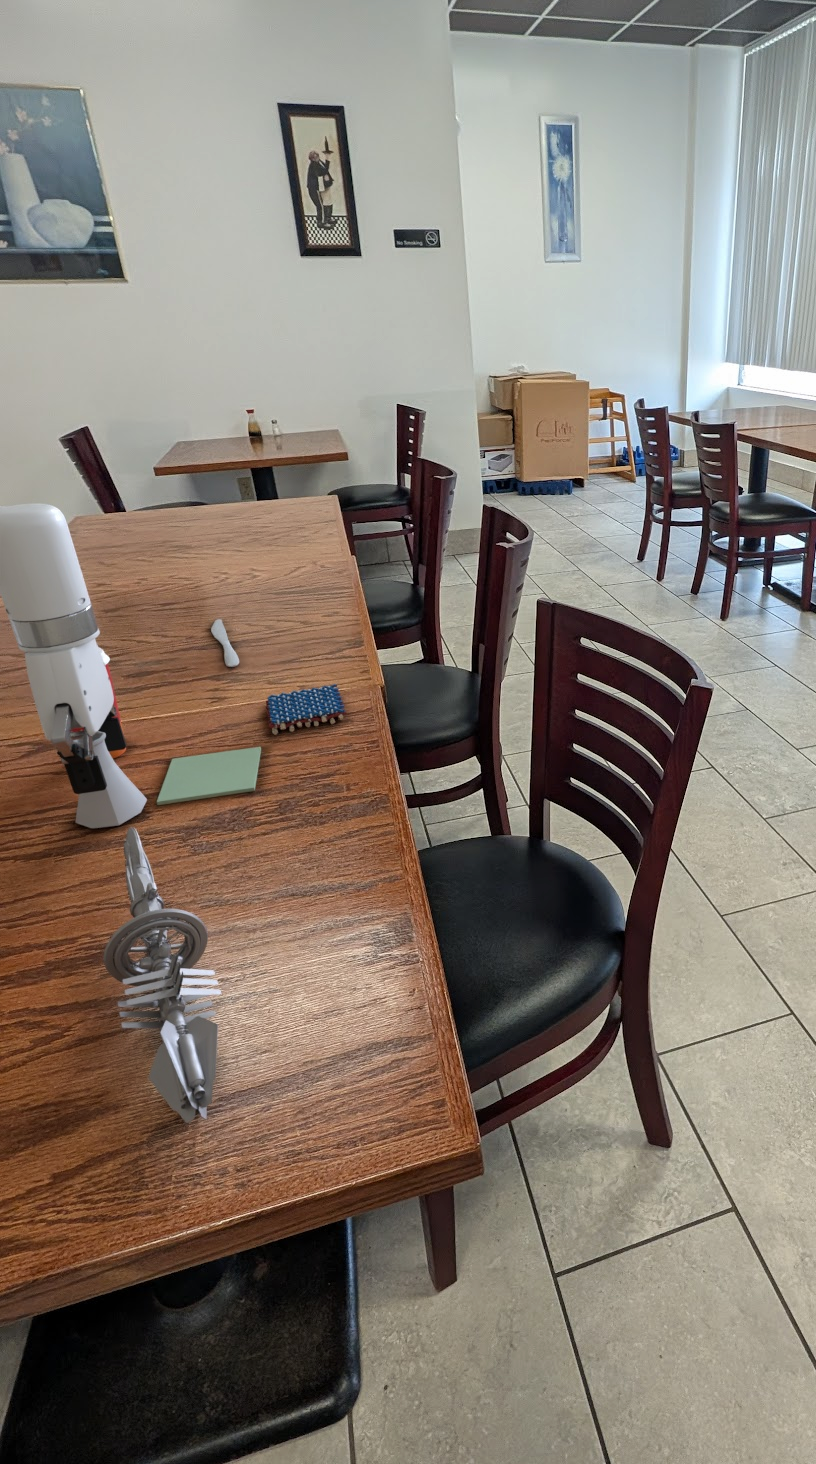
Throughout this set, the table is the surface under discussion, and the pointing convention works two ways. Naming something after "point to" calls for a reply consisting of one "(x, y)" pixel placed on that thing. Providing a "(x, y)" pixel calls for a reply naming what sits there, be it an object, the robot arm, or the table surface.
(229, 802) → the table surface
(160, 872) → the table surface
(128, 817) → the flask
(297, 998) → the table surface
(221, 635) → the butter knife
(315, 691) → the woven mat
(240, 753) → the coaster
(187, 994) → the spaceship
